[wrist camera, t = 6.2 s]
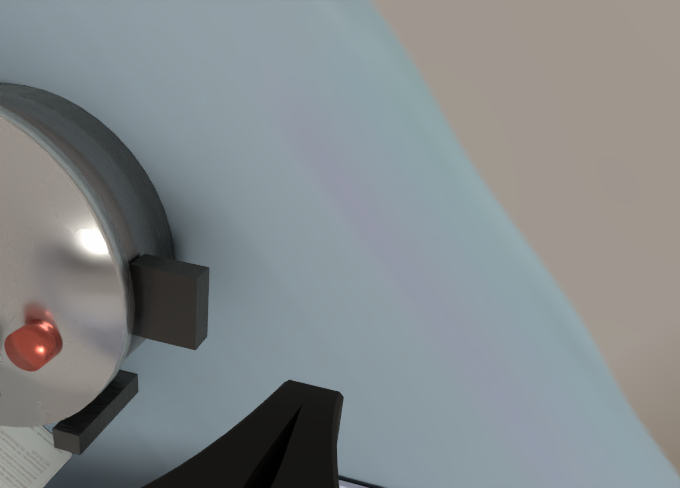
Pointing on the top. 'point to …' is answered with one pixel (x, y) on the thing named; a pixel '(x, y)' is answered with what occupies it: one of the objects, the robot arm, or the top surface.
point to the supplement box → (28, 457)
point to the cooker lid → (55, 283)
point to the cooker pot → (138, 242)
